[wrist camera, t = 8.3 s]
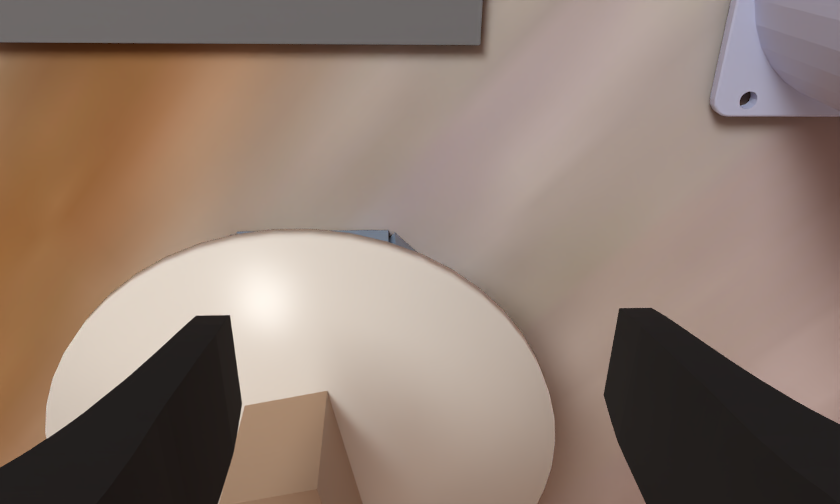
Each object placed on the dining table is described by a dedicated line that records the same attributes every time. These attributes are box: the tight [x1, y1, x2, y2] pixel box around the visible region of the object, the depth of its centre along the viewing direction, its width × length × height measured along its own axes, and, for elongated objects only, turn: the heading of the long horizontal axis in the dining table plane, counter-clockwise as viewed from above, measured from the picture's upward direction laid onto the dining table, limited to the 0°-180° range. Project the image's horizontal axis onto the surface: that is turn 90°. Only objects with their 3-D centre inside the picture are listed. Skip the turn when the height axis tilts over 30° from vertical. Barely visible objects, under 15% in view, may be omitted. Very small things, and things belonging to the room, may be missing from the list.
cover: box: [45, 229, 555, 504], centre depth 19 cm, size 15×15×4 cm
